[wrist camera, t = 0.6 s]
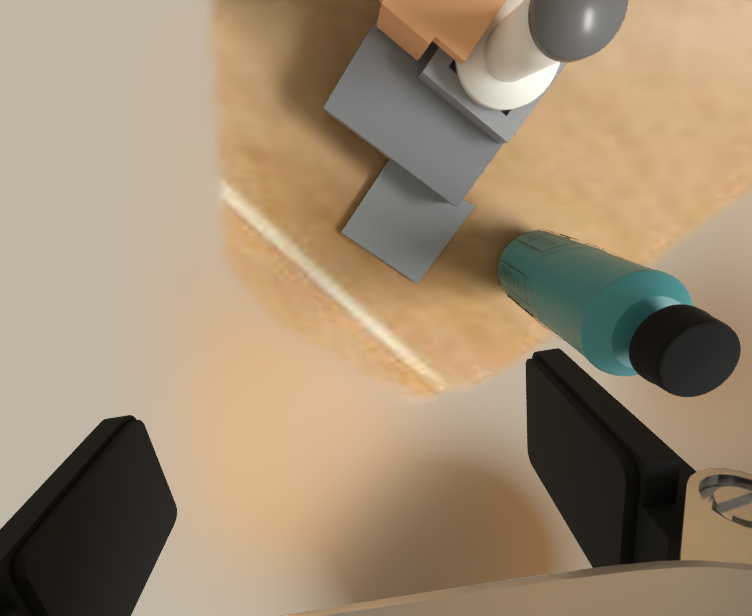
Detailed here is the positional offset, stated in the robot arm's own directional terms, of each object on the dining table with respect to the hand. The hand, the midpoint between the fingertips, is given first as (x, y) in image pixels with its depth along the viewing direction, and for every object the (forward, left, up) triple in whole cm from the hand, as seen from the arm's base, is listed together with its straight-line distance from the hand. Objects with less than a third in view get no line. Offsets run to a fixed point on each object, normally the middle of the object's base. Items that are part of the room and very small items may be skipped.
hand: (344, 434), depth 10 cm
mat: (-4, +3, -27) cm, 28 cm away
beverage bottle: (-7, +14, -28) cm, 32 cm away
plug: (-16, +1, -24) cm, 29 cm away
